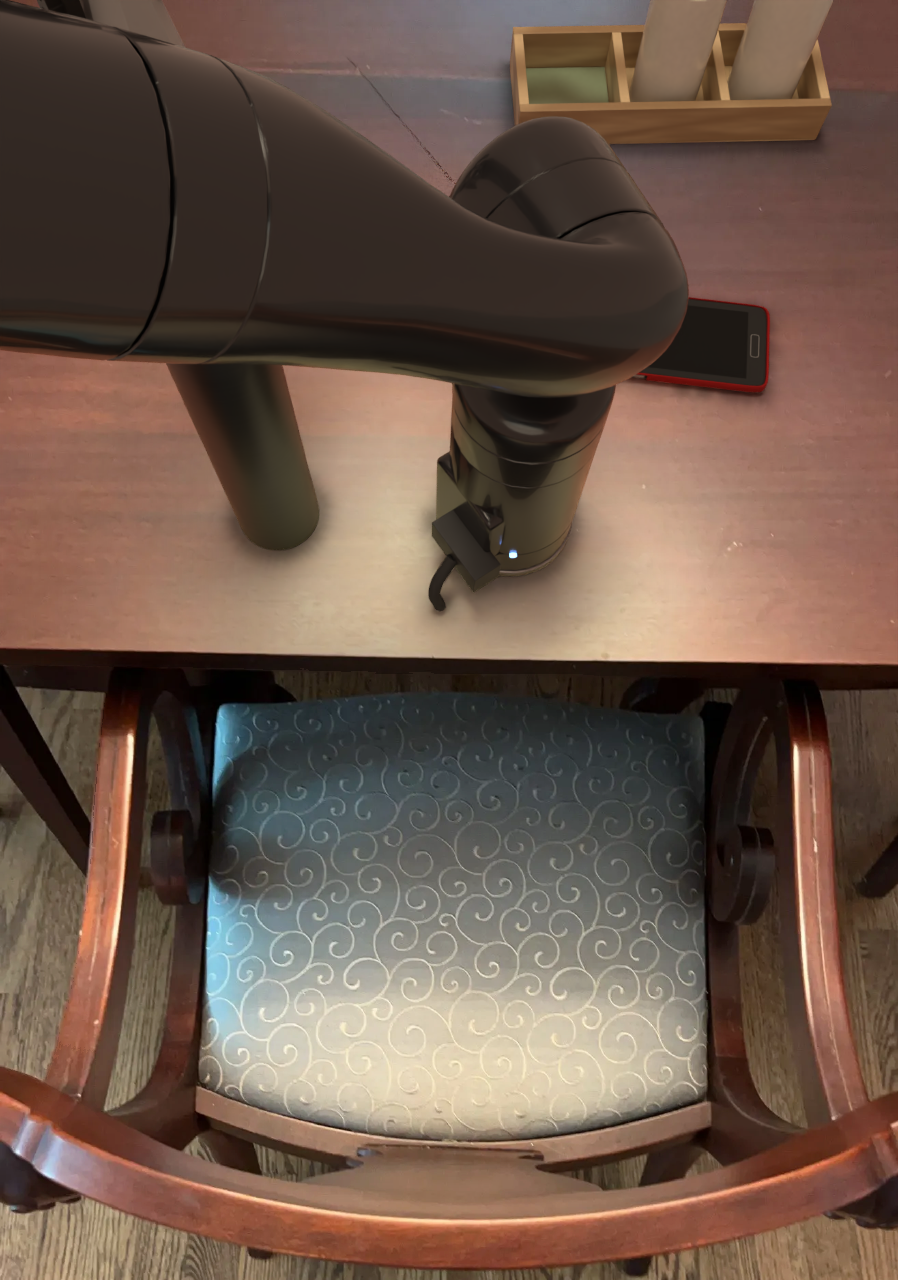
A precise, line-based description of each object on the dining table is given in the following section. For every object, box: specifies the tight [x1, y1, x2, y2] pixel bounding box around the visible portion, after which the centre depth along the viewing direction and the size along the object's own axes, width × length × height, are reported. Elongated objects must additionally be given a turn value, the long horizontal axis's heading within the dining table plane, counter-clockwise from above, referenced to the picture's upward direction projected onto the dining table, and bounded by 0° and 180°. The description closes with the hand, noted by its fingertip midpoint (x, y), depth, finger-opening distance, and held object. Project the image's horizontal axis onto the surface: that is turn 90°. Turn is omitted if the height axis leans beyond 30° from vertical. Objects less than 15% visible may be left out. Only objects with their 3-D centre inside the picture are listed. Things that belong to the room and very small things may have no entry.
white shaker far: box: [727, 0, 835, 100], centre depth 77 cm, size 6×6×13 cm
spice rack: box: [509, 22, 833, 145], centre depth 82 cm, size 9×26×4 cm, turn 93°
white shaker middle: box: [629, 0, 728, 102], centre depth 77 cm, size 6×6×13 cm
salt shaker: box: [80, 0, 187, 48], centre depth 47 cm, size 6×6×13 cm
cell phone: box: [631, 296, 771, 393], centre depth 76 cm, size 8×15×1 cm, turn 83°
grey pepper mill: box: [165, 363, 320, 551], centre depth 57 cm, size 6×6×30 cm
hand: (121, 6), depth 45 cm, fingers closed on salt shaker, 4 cm apart
